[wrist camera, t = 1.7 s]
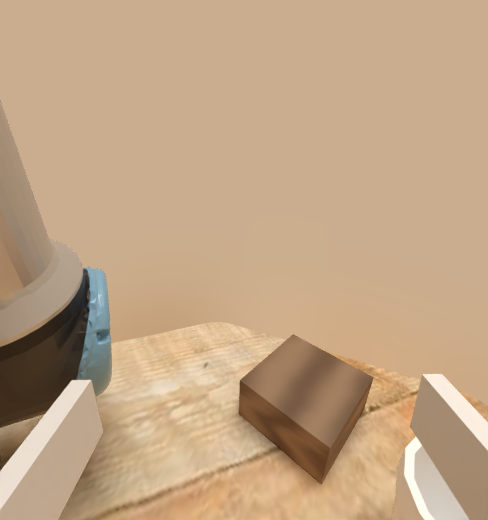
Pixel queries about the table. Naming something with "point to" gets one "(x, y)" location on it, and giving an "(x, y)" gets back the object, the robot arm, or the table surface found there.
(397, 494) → the foam cup
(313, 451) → the walnut block
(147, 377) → the table surface
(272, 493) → the table surface
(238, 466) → the table surface
